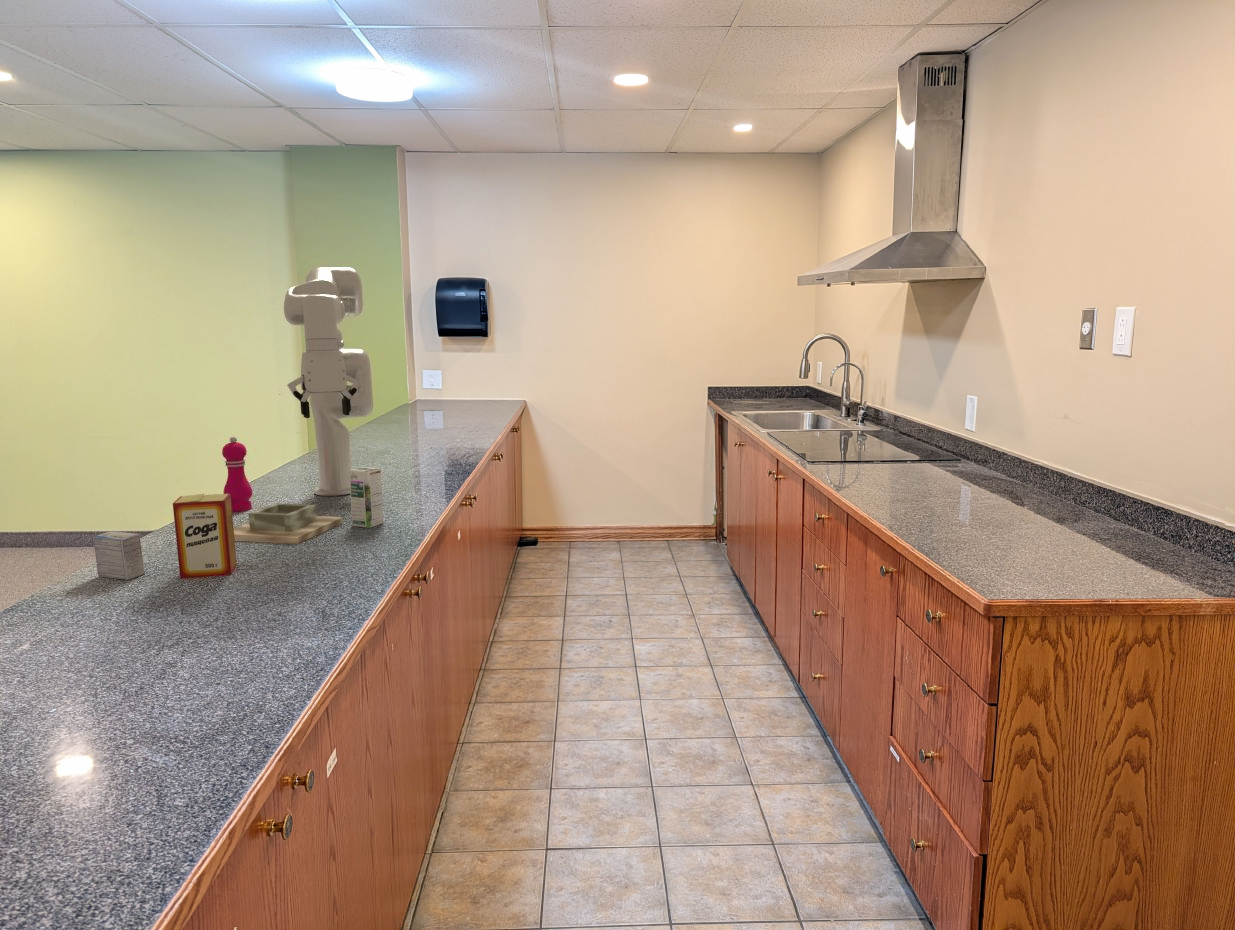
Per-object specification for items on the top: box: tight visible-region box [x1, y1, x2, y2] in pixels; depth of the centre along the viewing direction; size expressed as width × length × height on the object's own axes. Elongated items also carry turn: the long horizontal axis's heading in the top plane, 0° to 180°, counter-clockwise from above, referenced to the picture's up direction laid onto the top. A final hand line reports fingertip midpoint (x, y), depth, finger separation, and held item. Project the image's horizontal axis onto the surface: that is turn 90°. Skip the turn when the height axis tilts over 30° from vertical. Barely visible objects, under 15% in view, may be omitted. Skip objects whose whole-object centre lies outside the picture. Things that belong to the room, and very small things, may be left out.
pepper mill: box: [221, 436, 253, 512], centre depth 226 cm, size 7×7×20 cm
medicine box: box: [92, 530, 145, 581], centre depth 170 cm, size 8×4×9 cm, turn 71°
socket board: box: [233, 502, 344, 545], centre depth 204 cm, size 20×20×6 cm
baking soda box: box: [172, 493, 238, 580], centre depth 171 cm, size 10×6×16 cm
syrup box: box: [349, 466, 384, 529], centre depth 209 cm, size 6×6×14 cm
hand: (326, 416), depth 206 cm, fingers open, 9 cm apart
